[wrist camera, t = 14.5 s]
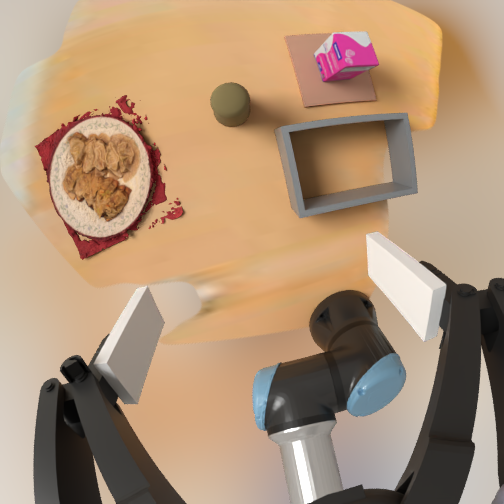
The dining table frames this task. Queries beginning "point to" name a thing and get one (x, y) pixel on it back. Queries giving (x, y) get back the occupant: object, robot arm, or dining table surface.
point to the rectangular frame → (399, 187)
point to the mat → (311, 78)
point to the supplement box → (345, 56)
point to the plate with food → (102, 177)
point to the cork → (230, 104)
